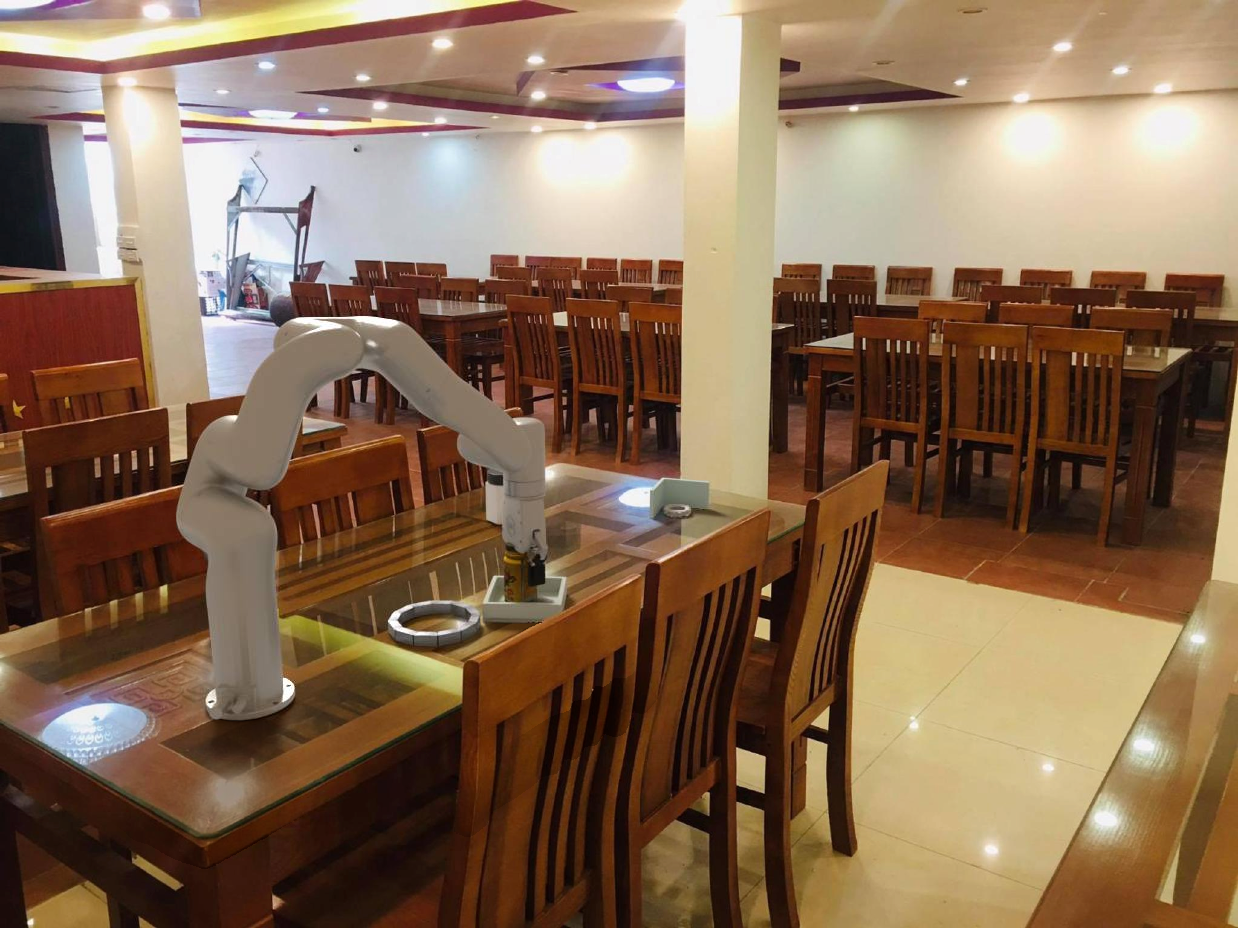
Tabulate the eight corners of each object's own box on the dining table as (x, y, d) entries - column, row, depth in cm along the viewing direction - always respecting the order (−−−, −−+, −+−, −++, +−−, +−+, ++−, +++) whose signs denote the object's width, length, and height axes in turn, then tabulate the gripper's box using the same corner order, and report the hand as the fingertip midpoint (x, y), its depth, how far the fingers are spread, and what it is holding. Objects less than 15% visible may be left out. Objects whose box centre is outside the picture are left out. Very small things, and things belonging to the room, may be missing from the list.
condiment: (494, 604, 186) (493, 542, 183) (528, 592, 192) (527, 532, 189) (520, 614, 181) (519, 551, 178) (555, 602, 187) (554, 540, 184)
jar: (498, 512, 244) (497, 464, 242) (528, 516, 242) (528, 467, 239) (481, 522, 236) (479, 473, 233) (512, 526, 234) (511, 476, 231)
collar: (471, 647, 169) (471, 636, 169) (380, 645, 170) (379, 634, 169) (485, 611, 184) (485, 601, 184) (401, 610, 185) (400, 599, 184)
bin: (561, 623, 180) (560, 604, 179) (482, 621, 180) (482, 603, 179) (566, 593, 193) (566, 576, 192) (494, 592, 193) (493, 575, 193)
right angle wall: (649, 520, 241) (650, 490, 239) (661, 506, 252) (662, 477, 251) (698, 524, 238) (699, 494, 236) (708, 510, 249) (709, 481, 247)
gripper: (487, 478, 186) (489, 565, 191) (524, 501, 172) (525, 595, 176) (524, 473, 190) (525, 559, 194) (564, 496, 175) (564, 588, 179)
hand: (525, 576), depth 185 cm, fingers open, 9 cm apart
